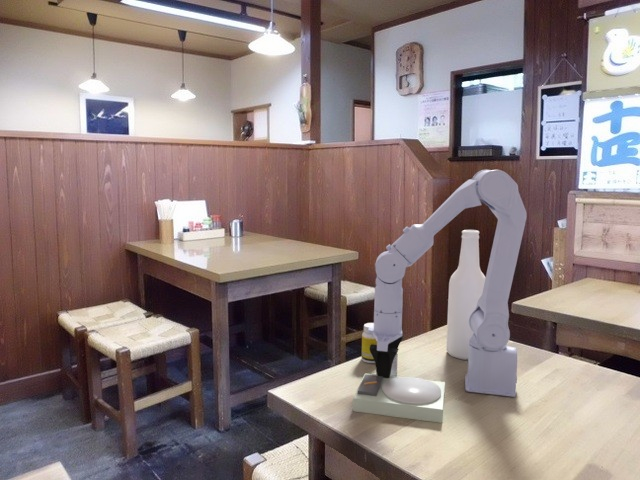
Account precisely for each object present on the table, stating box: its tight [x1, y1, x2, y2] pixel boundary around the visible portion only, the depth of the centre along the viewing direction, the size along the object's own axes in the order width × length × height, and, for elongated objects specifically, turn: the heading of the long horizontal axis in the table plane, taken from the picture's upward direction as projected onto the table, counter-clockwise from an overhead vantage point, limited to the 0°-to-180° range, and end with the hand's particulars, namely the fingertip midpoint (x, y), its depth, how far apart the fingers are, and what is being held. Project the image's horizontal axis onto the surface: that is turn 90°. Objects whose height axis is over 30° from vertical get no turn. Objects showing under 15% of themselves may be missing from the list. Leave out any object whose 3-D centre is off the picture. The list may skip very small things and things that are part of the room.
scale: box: [352, 373, 446, 424], centre depth 98 cm, size 16×12×3 cm
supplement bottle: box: [361, 322, 377, 364], centre depth 119 cm, size 5×5×8 cm
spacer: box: [375, 353, 399, 377], centre depth 107 cm, size 4×4×6 cm
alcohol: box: [445, 229, 486, 361], centre depth 121 cm, size 9×9×30 cm
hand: (386, 373), depth 107 cm, fingers open, 6 cm apart
